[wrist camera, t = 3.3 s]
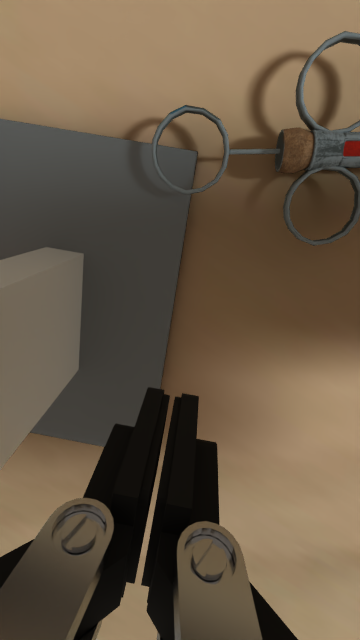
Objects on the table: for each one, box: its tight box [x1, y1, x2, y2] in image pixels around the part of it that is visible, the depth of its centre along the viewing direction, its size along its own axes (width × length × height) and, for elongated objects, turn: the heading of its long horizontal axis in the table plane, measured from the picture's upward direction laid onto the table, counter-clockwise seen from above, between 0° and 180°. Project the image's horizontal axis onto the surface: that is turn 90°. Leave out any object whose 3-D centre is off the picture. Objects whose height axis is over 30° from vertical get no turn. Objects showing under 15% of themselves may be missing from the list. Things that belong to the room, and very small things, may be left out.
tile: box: [0, 247, 84, 470], centre depth 13 cm, size 2×7×9 cm, turn 171°
